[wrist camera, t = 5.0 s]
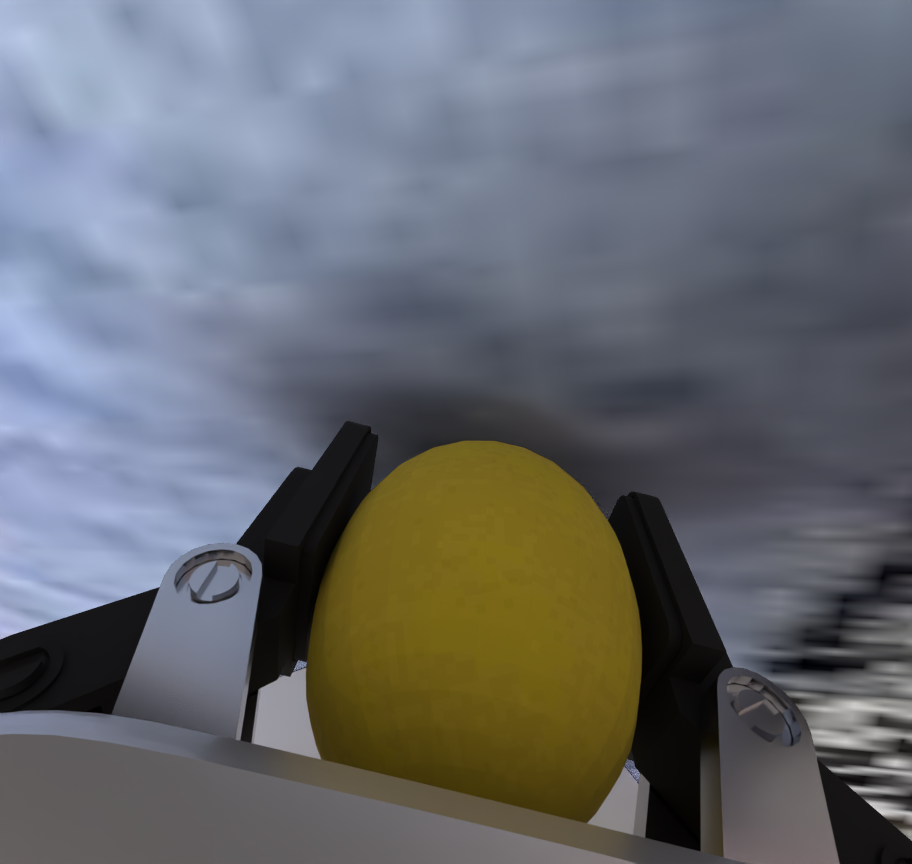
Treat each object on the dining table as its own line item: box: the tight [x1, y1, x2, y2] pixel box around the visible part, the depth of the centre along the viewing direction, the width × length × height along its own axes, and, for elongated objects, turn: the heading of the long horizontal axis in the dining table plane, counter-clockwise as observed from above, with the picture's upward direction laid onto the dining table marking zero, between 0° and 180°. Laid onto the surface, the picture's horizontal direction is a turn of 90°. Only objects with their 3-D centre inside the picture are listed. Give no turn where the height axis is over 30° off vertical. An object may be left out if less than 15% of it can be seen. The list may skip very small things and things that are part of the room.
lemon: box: [306, 441, 642, 823], centre depth 8 cm, size 6×6×8 cm
